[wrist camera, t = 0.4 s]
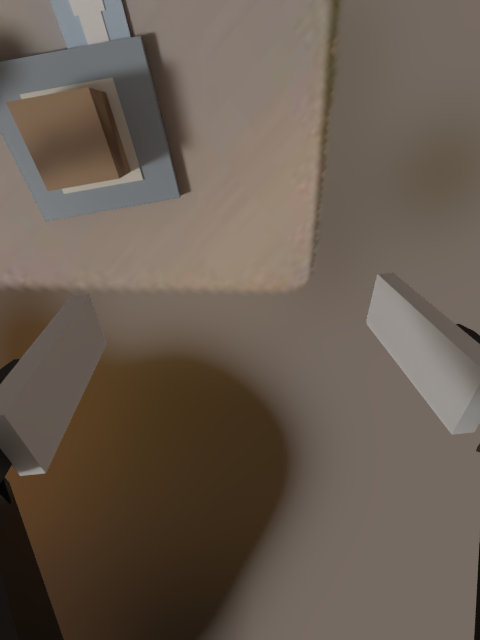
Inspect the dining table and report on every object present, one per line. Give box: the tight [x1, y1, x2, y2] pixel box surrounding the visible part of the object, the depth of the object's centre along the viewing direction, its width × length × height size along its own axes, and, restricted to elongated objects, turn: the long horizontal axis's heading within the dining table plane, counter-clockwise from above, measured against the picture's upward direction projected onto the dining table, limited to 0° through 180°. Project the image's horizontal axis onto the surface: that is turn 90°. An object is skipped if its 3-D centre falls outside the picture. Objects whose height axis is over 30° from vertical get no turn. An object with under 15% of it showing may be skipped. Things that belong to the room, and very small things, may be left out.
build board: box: [0, 36, 181, 221], centre depth 32 cm, size 14×16×1 cm
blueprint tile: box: [50, 0, 131, 49], centre depth 27 cm, size 8×6×1 cm
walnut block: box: [6, 87, 131, 191], centre depth 29 cm, size 7×7×5 cm
